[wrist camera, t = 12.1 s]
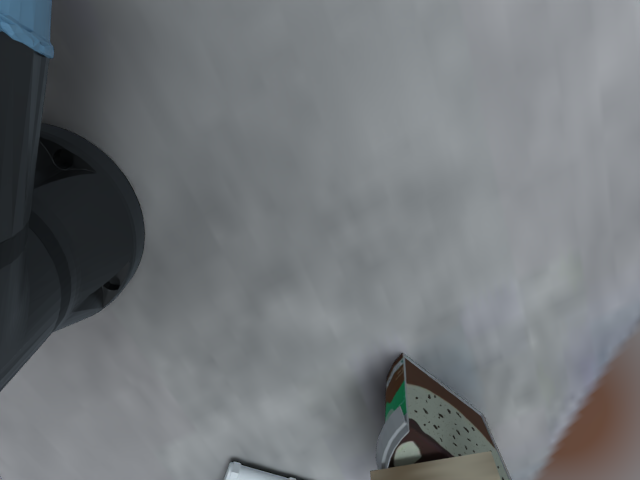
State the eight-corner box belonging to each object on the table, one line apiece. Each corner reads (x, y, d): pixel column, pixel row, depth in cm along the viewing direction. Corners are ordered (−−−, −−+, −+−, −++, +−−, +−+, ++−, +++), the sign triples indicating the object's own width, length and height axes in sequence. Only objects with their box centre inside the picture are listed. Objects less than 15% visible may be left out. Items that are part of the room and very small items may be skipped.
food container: (339, 389, 47) (339, 481, 38) (389, 342, 45) (402, 426, 36) (444, 465, 50) (468, 568, 40) (495, 423, 48) (533, 521, 38)
